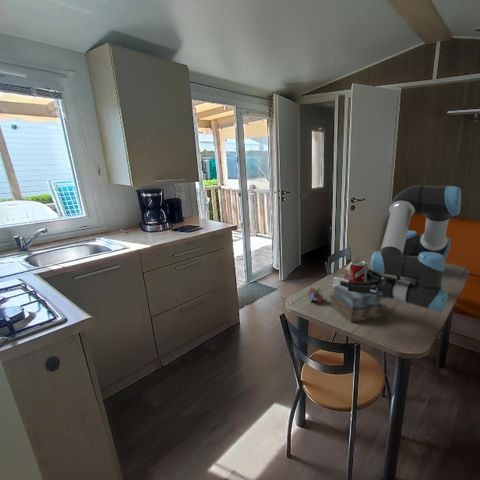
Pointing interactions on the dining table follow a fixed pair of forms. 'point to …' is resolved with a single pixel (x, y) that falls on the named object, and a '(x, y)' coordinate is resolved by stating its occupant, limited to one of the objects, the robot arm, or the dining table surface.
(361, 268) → the soda can
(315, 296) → the geometric puzzle
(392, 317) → the dining table surface
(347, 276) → the stack of blocks
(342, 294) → the grey brown square block
